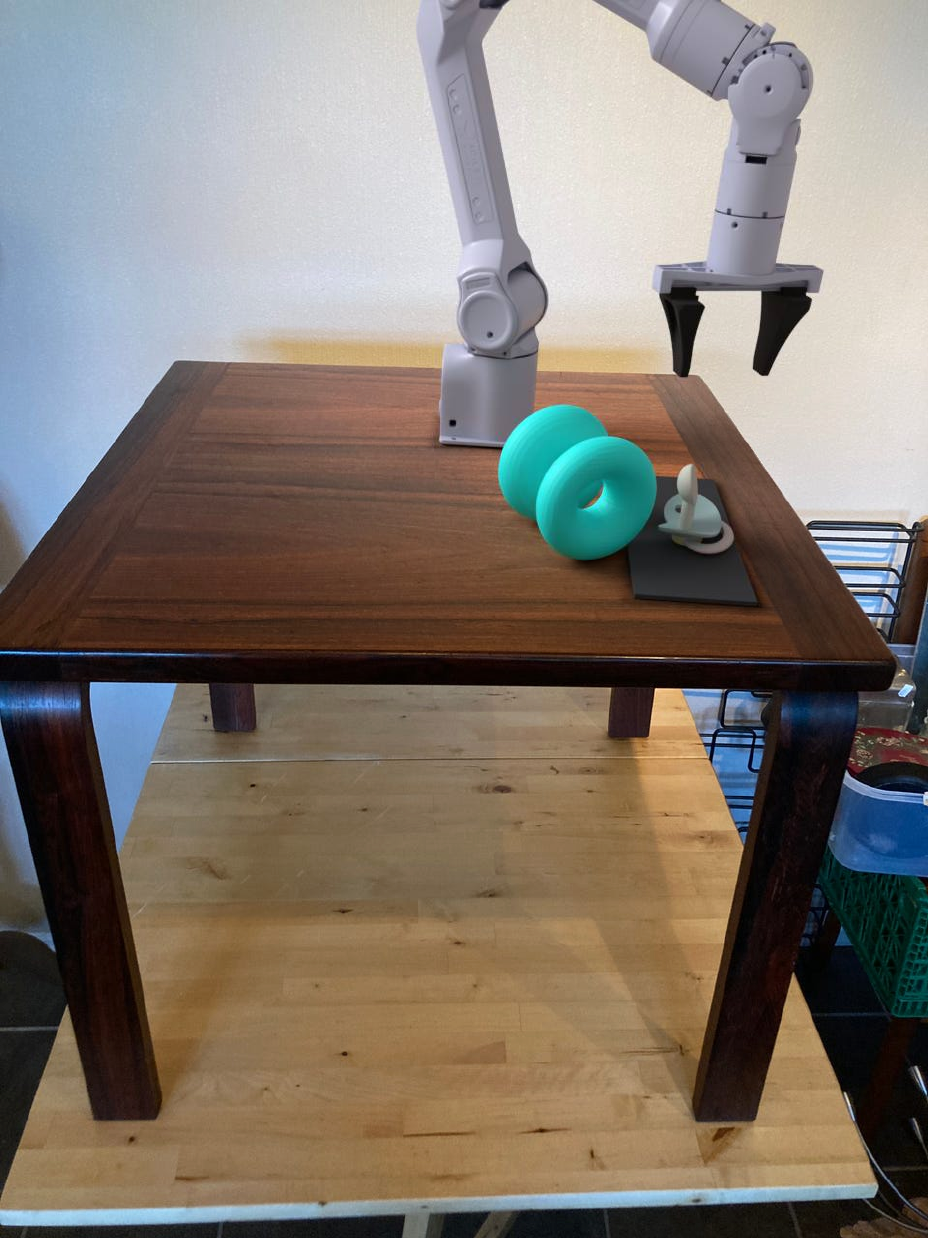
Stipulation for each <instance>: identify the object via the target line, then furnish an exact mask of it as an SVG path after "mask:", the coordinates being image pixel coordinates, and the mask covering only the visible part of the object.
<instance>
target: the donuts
mask: <svg viewBox="0 0 928 1238" xmlns="http://www.w3.org/2000/svg"><path fill="white" fill-rule="evenodd" d="M497 471H498V473H497V474H498V483H499V487H500V490H501V493H502V495H503V497H504V499H505V502H507V504H508V505H509V506H510V507H511V508H512V509H513V510H514V511H515V512H516V513H517V514H519V515H520V516H522V517H524V518H527V519H529V520H532V521H536V522H537V525H538V529H539V531H540V533H541V536H542V538H543V539H544V541H545V542H546V543H547V544H548V545H549V547H551V548H552V549H553V550H554V551H555V552H557V553H558V554H560V555H562V556H564V557H566V558H569V559H573V560H577V561H592V560H598V559H603V558H606V557H608V556H611V555H613V554H615V553H616V552H618V551H620V550H621V549H623V548H625V547H626V545H627V544H628V543H629V542H630V541H632V540H633V539H634V538H635V537H636V536H637V534H638V533H639V532H640V531H641V529H642V528H643V527H644V525H645V524H646V522H647V520H648V518H649V516H650V514H651V512H652V509H653V506H654V503H655V498H656V490H657V485H656V476H657V475H656V472H655V468H654V466H653V463H652V462H651V460H650V458H649V457H648V455H647V454H646V453H645V451H644V450H643V449H641V448H640V447H639V446H638V445H637V444H635V443H634V442H632V441H630V440H627V439H625V438H621V437H618V436H611V435H609V434H608V431H607V429H606V427H605V426H604V425H603V423H602V422H601V420H600V419H599V418H598V417H597V416H595V415H594V414H593V413H592V412H590V411H589V410H587V409H585V408H583V407H579V406H577V405H571V404H555V405H550V406H547V407H544V408H541V409H539V410H537V411H534V413H533V414H532V415H530V416H529V417H527V418H526V419H525V420H523V421H522V422H521V423H520V424H519V425H518V426H517V427H516V428H515V430H514V431H513V432H512V433H511V435H510V436H509V438H508V440H507V441H506V443H505V445H504V447H502V450H501V454H500V457H499V462H498V470H497ZM601 490H602V493H601V495H600V497H599V498H598V499H597V500H596V502H594V503H593V504H592V505H591V506H589V505H590V504H591V503H592V502H593V500H594V499H596V498H597V496H598V495H599V493H600V492H601ZM587 506H589V507H587Z"/></svg>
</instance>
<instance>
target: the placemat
mask: <svg viewBox="0 0 928 1238" xmlns="http://www.w3.org/2000/svg"><path fill="white" fill-rule="evenodd" d="M655 476H656V485H657V490H656V498H655V503H654V506H653V509H652V512H651V514H650V516H649V518H648V520H647V522H646V524H645V525H644V527H643V528H642V529H641V531H640V532H639V533H638V534H637V536H636V537H635V538H634V539H633V540H632V541H630V542H629V543H628V544H627V545H626V546H625V547H626V553H627V560H628V566H629V572H630V578H631V579H630V581H631V586H632V592H633V598H634V599H641V600H655V601H672V602H683V603H684V602H685V603H700V604H703V603H704V604H715V605H729V606H730V605H732V606H743V607H745V606H746V607H757V606H758V600H757V596H756V594H755V591H754V588H753V586H752V584H751V580H750V577H749V574H748V572H747V569H746V566H745V563H744V560H743V558H742V554H741V552H740V549H739V546H738V544H737V541H736V538H735V537H734V540H733V542H732V544H731V545H730V547H729V548H728V549H726V550H724V551H722V552H719V553H715V554H703V553H699V552H696V551H693V550H691V549H689V548H688V547H687V546H684V545H680V544H677V543H676V542H674V541H673V539H672V535H671V534H667V533H665V532H662V531H659V530H658V526H659V525H661V524H665V523H667V522H666V520H665V517H664V508H665V506H666V503H667V502H668V501H669V500H670V499H671V498H672V497H673V496H676V495H677V494H679V492H678V488H677V480H678V476H665V475H655ZM697 485H698V494H699V495H701V496H703V497H705V498H706V499H708V500H709V501H711V502H712V503H713V504H714V505H715V506H716V508H717V510H718V511H719V514H720V516H721V521H723V522H725V523H726V524H727V525H728V526H729V527H730V528H731V529H732V527H731V524H730V522H729V518H728V516H727V513H726V509H725V507H724V504H723V502H722V499H721V497H720V494H719V491H718V488H717V485H716V482H715V479H712V478H698V477H697ZM675 511H676V512H678V513H681V508H676V509H675ZM722 538H723V536H722V534H721V533H720V532H719V534H718V535H717V536H714V537H709V538H702V541H701V544H713V543H717V542H718V541H720V540H721V539H722Z"/></svg>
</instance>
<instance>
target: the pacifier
mask: <svg viewBox="0 0 928 1238" xmlns="http://www.w3.org/2000/svg"><path fill="white" fill-rule="evenodd" d="M697 475H698V474H697V470H696V467H695V464H693V463H689V464H687V465H685V466H684V467H683V468H682V469H681V470H680V471H679V473H678V476H677V477H678V480H677V488H678V492H679V494H677V495H676V496H673V497H672V498H671V499H670V500H669V501H668V502H667V503H666V506H665V508H664V517H665V520H666V522H667V523H665V524H661V525H659V526H658V530H659V531H662V532H665V533H667V534H671V535H672V539H673V541H674V542H676V543H677V544H680V545H684V546H687V547H688V548H689V549H691V550H693V551H696V552H699V553H703V554H715V553H719V552H722V551H724V550H726V549H728V548H729V547H730V545H731V544H732V542H733V540H734V538H735V535H734V532H733V529H732V527H731V526H730V527H731V528H730V527H729V526H728V525H727V524H726V523H725V522H723V521H721V516H720V514H719V511H718V510H717V508H716V506H715V505H714V504H713V503H712V502H711V501H709V500H708V499H706V498H705V497H703V496H701V495H699V494H698V485H697V478H698V476H697ZM676 508H681V513H678V512H676V511H675V509H676ZM719 532H720V533H721V534H722V536H723V538H722V539H721V540H720V541H718V542H717V543H713V544H701V541H702V538H709V537H714V536H717V535H718V534H719Z"/></svg>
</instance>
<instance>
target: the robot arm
mask: <svg viewBox="0 0 928 1238" xmlns="http://www.w3.org/2000/svg"><path fill="white" fill-rule="evenodd" d="M510 1H511V0H420V2H419V7H418V11H417V16H416V17H417V19H416V22H415V23H416V24H415V31H416V40H417V45H418V50H419V54H420V58H421V64H422V67H423V72H424V76H425V81H426V85H427V91H428V94H429V99H430V104H431V108H432V109H431V110H432V114H433V119H434V122H435V127H436V132H437V136H438V140H439V146H440V150H441V155H442V159H443V163H444V168H445V173H446V177H447V181H448V187H449V191H450V196H451V200H452V203H453V204H452V205H453V209H454V214H455V218H456V222H457V228H458V233H459V238H460V241H461V247H462V251H461V256H460V261H459V265H458V269H457V272H456V281H457V285H458V294H459V298H458V299H459V300H458V302H457V303H458V304H457V308H456V314H455V316H456V317H455V318H456V325H457V329H458V331H459V334H460V336H461V338H462V339H463V342H457V343H455V342H454V343H453V342H452V343H449V342H448V343H445V344H444V346H443V351H442V361H441V377H440V380H441V381H440V399H439V402H438V418H439V437H438V438H439V439H438V442H439V443H440V444H445V445H458V446H475V447H492V448H504V445H505V443H506V441H507V440H508V438H509V436H510V435H511V433H512V432H513V431H514V430H515V428H516V427H517V426H518V425H519V424H520V423H521V422H522V421H523V420H525V419H526V418H527V417H529V416H530V415H532V414H533V413H535V401H536V387H537V377H538V376H537V374H538V362H539V349H540V341H539V339H538V336H537V333H536V326H537V325H539V324H540V323H541V322H542V320H543V319H544V318H545V315H546V313H547V311H548V308H549V307H548V306H549V291H548V288H547V285H546V283H545V281H544V279H543V278H542V277H541V276H540V274H539V273H538V271H537V269H536V268H535V265H534V262H533V258H532V253H531V249H530V248H529V246H528V245H527V244H526V242H525V241H524V239H523V238H522V237H521V235H520V233H519V229H518V224H517V219H516V213H515V209H514V204H513V198H512V193H511V189H510V183H509V178H508V173H507V167H506V163H505V162H506V161H505V158H504V157H505V156H504V152H503V148H502V143H501V137H500V131H499V126H498V122H497V117H496V110H495V106H494V101H493V100H494V99H493V95H492V90H491V84H490V80H489V79H490V78H489V74H488V69H487V64H486V58H485V54H484V47H483V41H484V39H485V37H486V36H487V34H488V32H489V31H490V29H491V27H492V25H493V24H494V23H495V21H496V19H497V17H498V16H499V14H500V13H501V11H502V10H503V7H504V6H506V4H508V2H510ZM592 1H593V2H594V3H596V4H598V5H599V6H601V7H603V8H605V9H606V10H608V11H610V12H611V13H613V14H615V15H616V16H618V17H620V18H621V19H623V20H624V21H626V22H628V23H630V24H631V25H633V26H634V27H636V28H638V29H639V30H641V31H643V32H644V33H645V35H646V38H647V42H648V46H649V54H650V57H651V59H652V60H653V61H654V62H656V64H658V65H660V66H662V67H663V68H664V69H666V70H667V71H669V72H670V73H672V74H674V75H675V76H677V77H679V78H680V79H681V80H683V81H685V82H686V83H687V84H689V85H691V86H692V87H694V88H695V89H697V90H698V91H700V92H701V93H702V94H704V95H705V96H708V97H709V98H711V99H712V100H713V101H714V102H719V101H722V100H727V102H728V106H729V110H730V112H731V115H732V118H731V124H730V131H729V135H728V136H729V137H728V142H727V146H726V147H725V149H724V151H723V158H722V163H721V171H720V177H719V182H718V188H717V194H716V200H715V206H714V211H713V217H712V224H711V229H710V236H709V242H708V247H707V248H708V249H707V255H706V260H702V261H692V262H682V263H681V262H680V263H672V264H655V265H654V269H653V277H652V284H651V288H652V289H653V290H654V291H655V292H657V293H658V296H659V300H660V303H661V305H662V308H663V312H664V316H665V319H666V322H667V326H668V331H669V336H670V337H669V338H670V343H671V352H672V353H671V354H672V372H674V374H676V376H677V377H679V378H688V377H689V374H690V372H691V367H692V361H693V353H694V345H695V340H696V336H697V333H698V329H699V326H700V323H701V320H702V317H703V314H704V313H705V312H704V311H705V309H706V306H705V304H704V303H702V302H701V301H699V299H700V295H697V292H760V314H759V315H760V316H759V327H758V334H757V337H756V343H755V348H754V352H753V359H752V370H753V371H754V372H756V373H757V374H758V375H759V376H760V377H769V376H770V374H771V371H772V369H773V366H774V364H775V363H776V360H777V358H778V356H779V354H780V352H781V350H782V348H783V346H784V345H785V343H786V341H787V339H788V338H789V337H790V335H791V333H792V332H793V330H794V329H795V328H796V327H797V325H799V323H800V322H801V321H802V319H803V318H804V317H805V316H806V315H807V314H808V313H809V312H810V309H811V306H812V302H813V298H812V297H810V296H809V295H807V293H808V294H819V293H820V289H821V285H822V281H823V277H824V272H825V270H824V269H822V268H821V267H818V266H816V265H814V264H793V263H781V262H780V263H779V262H777V259H778V254H779V249H780V244H781V238H782V234H783V229H784V224H785V220H786V219H785V218H786V214H787V211H788V210H787V208H788V204H789V199H790V196H791V195H790V194H791V189H792V186H793V185H792V184H793V181H794V174H795V169H796V165H797V159H798V153H797V150H796V149H797V145H798V144H799V142H800V139H801V134H802V127H801V122H802V118H799V116H800V115H801V114H802V113H803V111H804V109H805V107H806V105H807V104H808V102H809V100H810V98H811V95H812V92H813V88H814V87H813V86H814V72H813V67H812V64H811V62H810V60H809V59H808V57H807V55H806V54H805V53H804V52H802V51H801V49H799V48H798V46H797V44H796V43H795V42H792V41H785V40H779V41H778V40H777V41H772V39H773V37H774V35H775V33H776V31H777V28H776V26H774V25H772V24H771V23H768V22H767V21H764V23H763V24H762V25H761V26H760V25H759V24H757V23H756V22H754V21H753V20H751V18H750V19H749V18H748V17H746V16H745V15H744V14H742V13H740V12H739V11H737V10H736V9H734V8H733V7H731V6H730V5H728V4H726V3H725V2H723V0H592ZM771 41H772V42H771Z"/></svg>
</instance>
